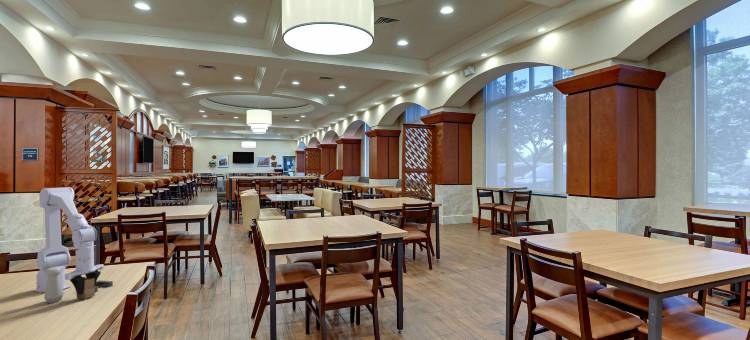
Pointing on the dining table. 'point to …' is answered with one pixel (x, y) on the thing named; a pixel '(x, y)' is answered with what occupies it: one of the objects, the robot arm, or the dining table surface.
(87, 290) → the brown upright block
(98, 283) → the bracket slot
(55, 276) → the grey vase
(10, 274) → the dining table surface
